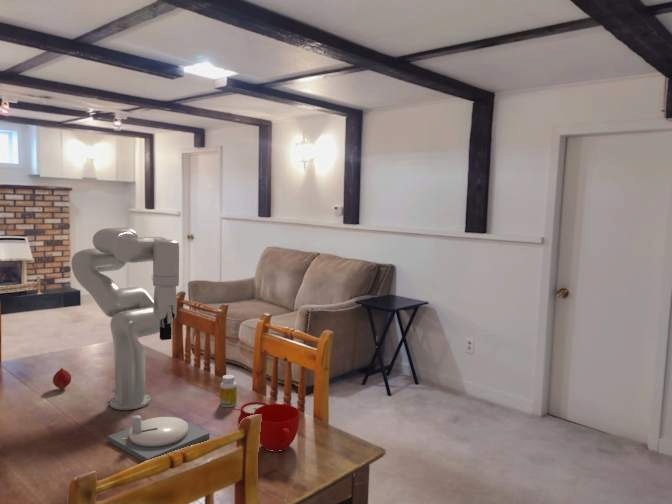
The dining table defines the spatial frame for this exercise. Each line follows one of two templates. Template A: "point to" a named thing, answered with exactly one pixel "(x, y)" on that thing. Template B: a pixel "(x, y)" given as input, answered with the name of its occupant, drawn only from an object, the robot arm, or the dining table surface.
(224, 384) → the supplement bottle
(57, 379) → the onion
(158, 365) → the dining table surface
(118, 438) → the base plate
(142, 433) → the turntable
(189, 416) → the dining table surface
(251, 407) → the alarm clock
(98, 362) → the dining table surface
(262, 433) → the ceramic cup
